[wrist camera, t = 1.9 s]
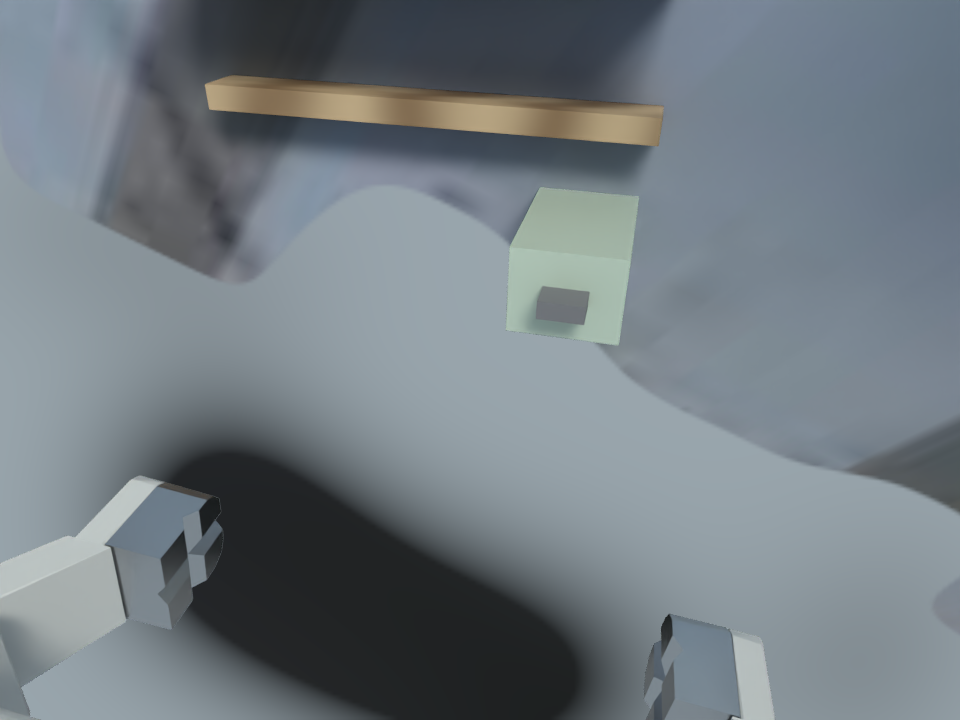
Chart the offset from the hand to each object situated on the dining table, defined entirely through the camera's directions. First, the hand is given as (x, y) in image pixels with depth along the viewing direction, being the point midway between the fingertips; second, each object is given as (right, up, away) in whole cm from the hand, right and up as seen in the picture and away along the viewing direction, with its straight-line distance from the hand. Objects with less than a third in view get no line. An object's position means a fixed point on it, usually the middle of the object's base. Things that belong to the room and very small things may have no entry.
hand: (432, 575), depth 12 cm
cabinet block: (+6, +11, +24) cm, 27 cm away
